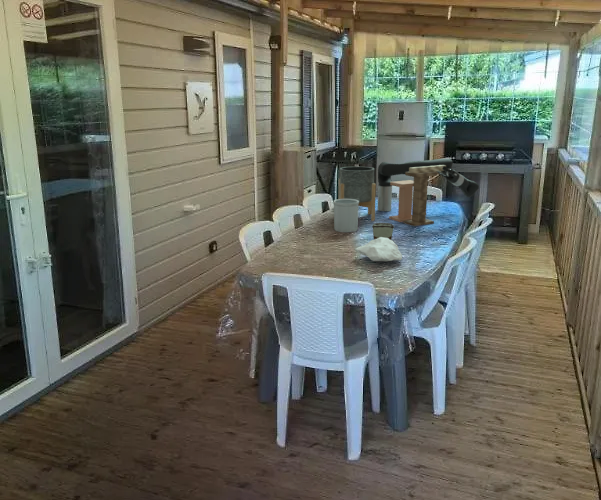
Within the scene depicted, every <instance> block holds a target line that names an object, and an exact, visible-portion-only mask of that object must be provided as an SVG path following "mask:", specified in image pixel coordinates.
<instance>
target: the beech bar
mask: <svg viewBox="0 0 601 500" xmlns="http://www.w3.org/2000/svg"><path fill="white" fill-rule="evenodd" d="M443 166H445V167H446V165H436V166H424V167H412V168H409V173H422V172H436V171H444V170H443V169H442V168H443Z"/></svg>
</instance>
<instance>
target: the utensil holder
mask: <svg viewBox="0 0 601 500" xmlns="http://www.w3.org/2000/svg"><path fill="white" fill-rule="evenodd" d="M358 204H359V201H358V200H355V199H337V198H336V199H334V200H333V222H334V223H333V225H334V227H333V229H334V231H335V232H339V233H353V232H357V231H358V223H359V222H358V220H359V206H358Z"/></svg>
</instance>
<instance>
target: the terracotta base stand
mask: <svg viewBox="0 0 601 500" xmlns="http://www.w3.org/2000/svg"><path fill="white" fill-rule="evenodd" d="M390 185H392V187H398V207H397V208H398V210H397V211H398V212H397V215H391V216H388V219H389V220H392V221H395V222H399V223H403V221H406V220H412V207H413V185H414V179H413V180H412V179H407V180H405V179H404V180H396V181H392V182H390Z"/></svg>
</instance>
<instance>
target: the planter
mask: <svg viewBox="0 0 601 500" xmlns="http://www.w3.org/2000/svg"><path fill="white" fill-rule="evenodd" d="M376 191H377V184H376V183H375V168H374V167H369V166H343V167H339V178H338V199H355V200H358V201H359V204H358V207H364V208H367V215H369V216H370V221H371V222H374V221H375V220H376Z"/></svg>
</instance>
